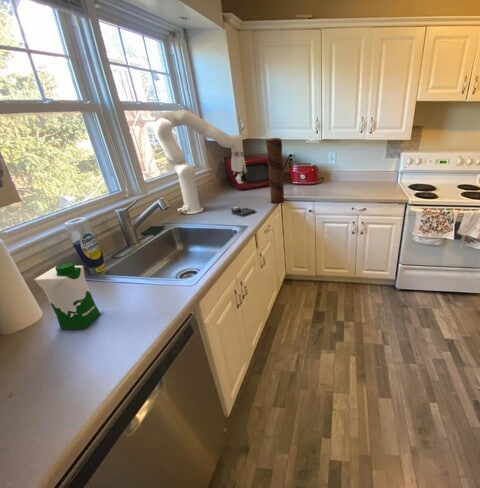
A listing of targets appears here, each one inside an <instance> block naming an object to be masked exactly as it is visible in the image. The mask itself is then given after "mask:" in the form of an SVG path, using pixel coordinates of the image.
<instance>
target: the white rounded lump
mask: <svg viewBox="0 0 480 488" xmlns="http://www.w3.org/2000/svg"><path fill="white" fill-rule="evenodd" d="M241 176H242V175H241V172H238V174H237V177H236V180H235V181H236V182H237V184H240V185H241V184H243V183H244V182H245V181H243V182H242V181H241Z"/></svg>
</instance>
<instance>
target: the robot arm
mask: <svg viewBox="0 0 480 488" xmlns="http://www.w3.org/2000/svg"><path fill="white" fill-rule="evenodd" d="M154 122H155V124H154V134H155V138H156V140H157V141H158V143H159V145H160V146H161V148H162V150H163V156H164V157H165V159H166V160H167V162H168V163H169V165H170V166H171V168H172V169H173V171H174V172H175V174H177V175H178V180H179V186H180V191H181V195H182V201H183V202H182V203H183V205H182V207H180V208H179V207H178V208H177V212H182V213H183V214H185V215H195V214H200V213H202V212H204V207H202V206H201V202H200V197H199V192H198V185H197V180H196V171H195V168H194V167H193V165H192V164H191V163H188V162H187V160H186V158H185V155H184V152H183V150H182V149H181V147H180V145H179V144H178V143H177V141H176V139H175V137H174V136H173V132H172V131H173V128H175V127H180V126H185V127H187V128H189V129H190V130H192V131H194V132H195V133H197V134H199V135H200V136H202V137H205V138H208V139H211V140H212V141H215V142H217V143H218V145H219V146H220V147H223V148H227V149H230V148H231V159H230V160H231V161H230V163H231V171H232V173H233V175H234V181H236V177H237V174H239V173H240V174H241V175H242V176H241V181H242V182H243V181H244V182H246V180H247V179H246V175H247V173H248V169H247V167H246V166H247V165H246V159H245V157H244V146H243V137H242V136H241V135H239V134H233V135H230V134H228V133H226V132H225V131H223V130H221V129H219V128H218V127H216V126H214V125H213V124H212V123H209V122H207V121H205V120H204V119H202V118H201V117H199V116H198V115H196V114H194V113H192V112H191V111H189V110H187V109H178V110H173V111H168V112H159V113H157V114H156V115H155V118H154ZM244 182H243V183H244Z"/></svg>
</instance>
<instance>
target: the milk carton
mask: <svg viewBox="0 0 480 488" xmlns="http://www.w3.org/2000/svg"><path fill="white" fill-rule="evenodd" d="M33 281H34V282H36V283H37V285H38V286H39V287H40V288H41V289H42V290H43V292H44V294H45V295H46V298H47V299H48V301H49V303H50V306H51V308H52V309H53V311H54V314H55V316H56V319H57V322H58V325H59V328H60V330H85V329H86V328H88V327H89V326H90V325H91V324H92V323H93V322H94V321H95V320H96V319H97V318H98V317H99V316H100V315H101V313H100V310H99V308H98V306H97V305H96V303H95V300H94V297H93V295H92V293H91V291H90V288H89V286H88V283H87V281H86V277H85V269H84V265H75V264H74V262H70V261H69V262H64V263H60V264H58V265H56V266H54V267H52V268H51V269H49V270H47V271H46V272H44V273H42V274H41V275H39V276H37V277H36V278H34V279H33Z"/></svg>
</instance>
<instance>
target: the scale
mask: <svg viewBox="0 0 480 488" xmlns="http://www.w3.org/2000/svg"><path fill="white" fill-rule="evenodd" d="M230 212H231V214H232V215H236V216H239V217H241V218H244V217H246V216H250V215H252V214H255V213H256V209H252V208H249V207H248V208H247V207H242V208H240V207H238V209H237V210H234V208H233V207H232V208H231V209H230Z"/></svg>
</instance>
